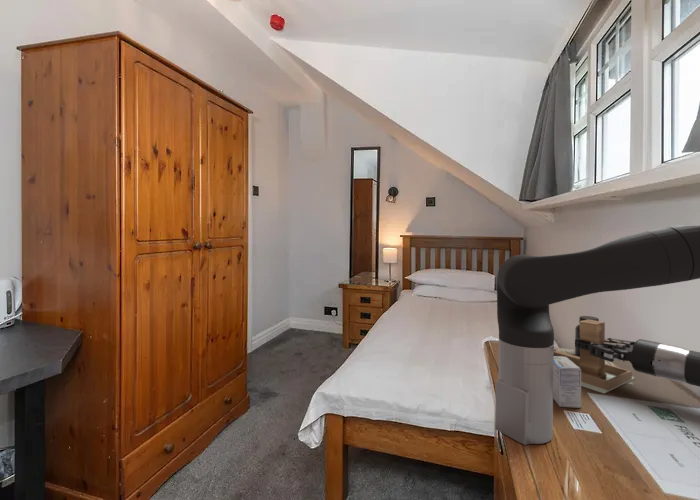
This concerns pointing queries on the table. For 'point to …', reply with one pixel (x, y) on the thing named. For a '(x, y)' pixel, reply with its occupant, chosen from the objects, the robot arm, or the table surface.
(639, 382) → the table surface
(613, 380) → the keyhole board
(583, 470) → the table surface
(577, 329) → the supplement bottle
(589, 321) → the walnut keyhole peg
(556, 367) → the medicine box
